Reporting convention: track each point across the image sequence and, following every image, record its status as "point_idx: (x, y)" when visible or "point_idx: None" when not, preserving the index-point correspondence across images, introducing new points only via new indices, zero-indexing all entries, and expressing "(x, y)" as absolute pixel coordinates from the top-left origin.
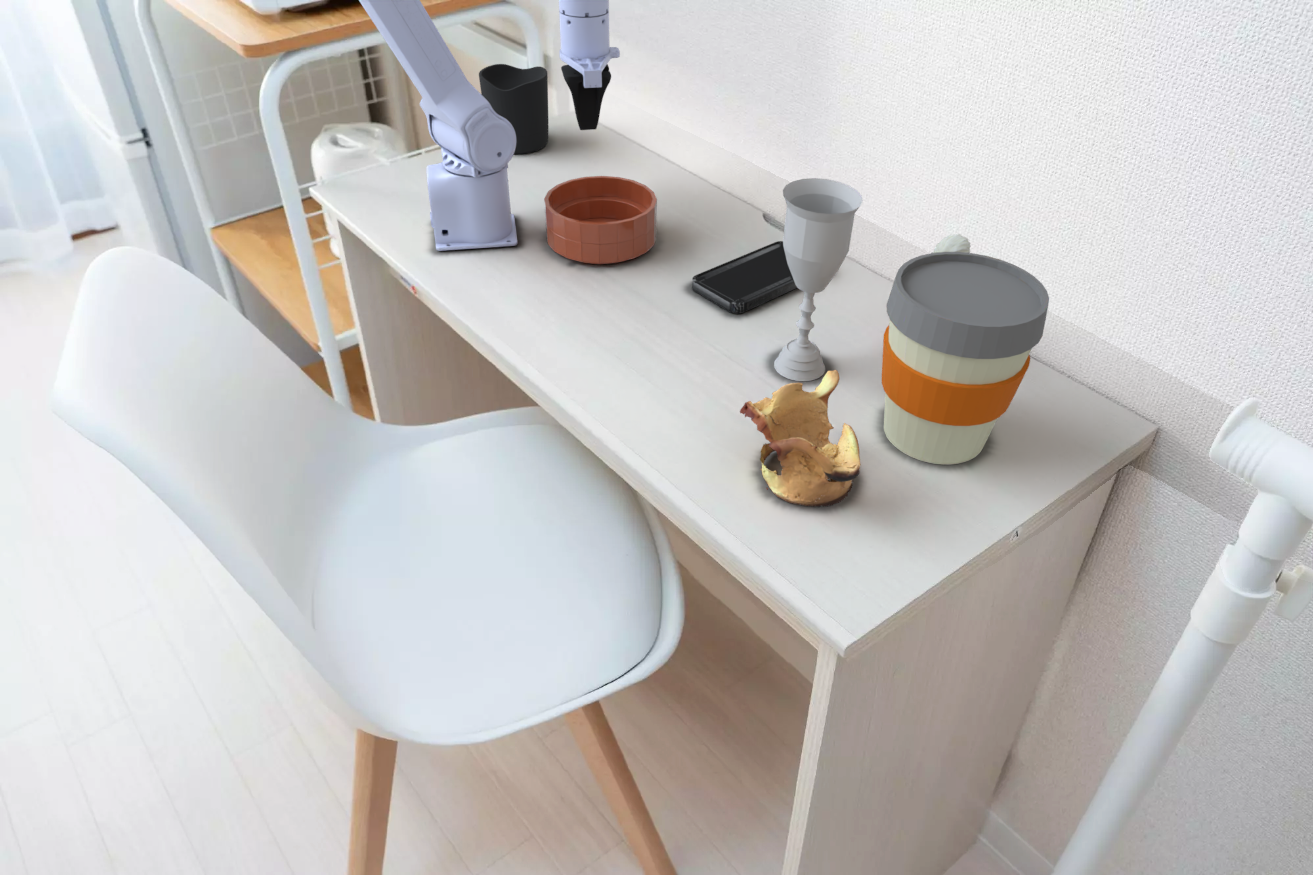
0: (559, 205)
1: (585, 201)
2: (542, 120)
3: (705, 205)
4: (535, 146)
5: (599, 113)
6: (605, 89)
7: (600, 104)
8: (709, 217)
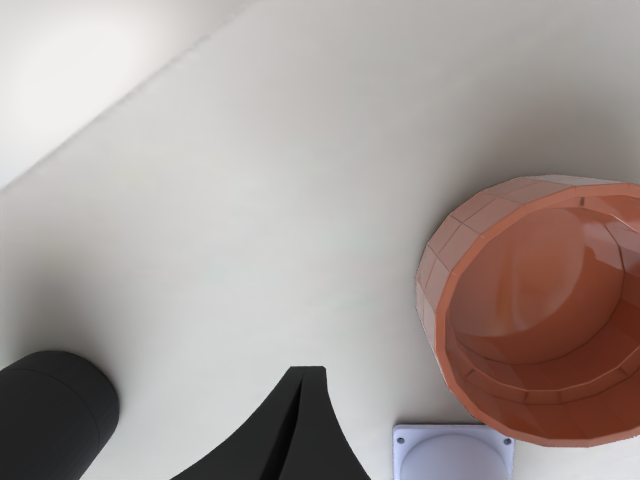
0: (469, 383)
1: (452, 329)
2: (41, 398)
3: (379, 29)
4: (98, 380)
5: (325, 394)
6: (366, 475)
7: (338, 423)
8: (448, 27)
